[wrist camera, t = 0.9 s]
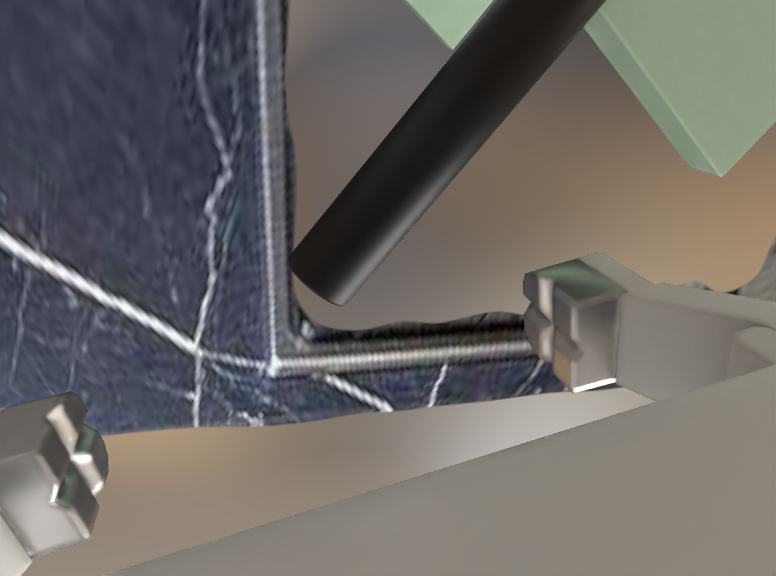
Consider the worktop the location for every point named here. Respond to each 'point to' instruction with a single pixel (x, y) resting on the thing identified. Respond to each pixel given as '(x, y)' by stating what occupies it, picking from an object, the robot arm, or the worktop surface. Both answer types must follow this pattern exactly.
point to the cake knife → (435, 141)
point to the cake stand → (674, 65)
